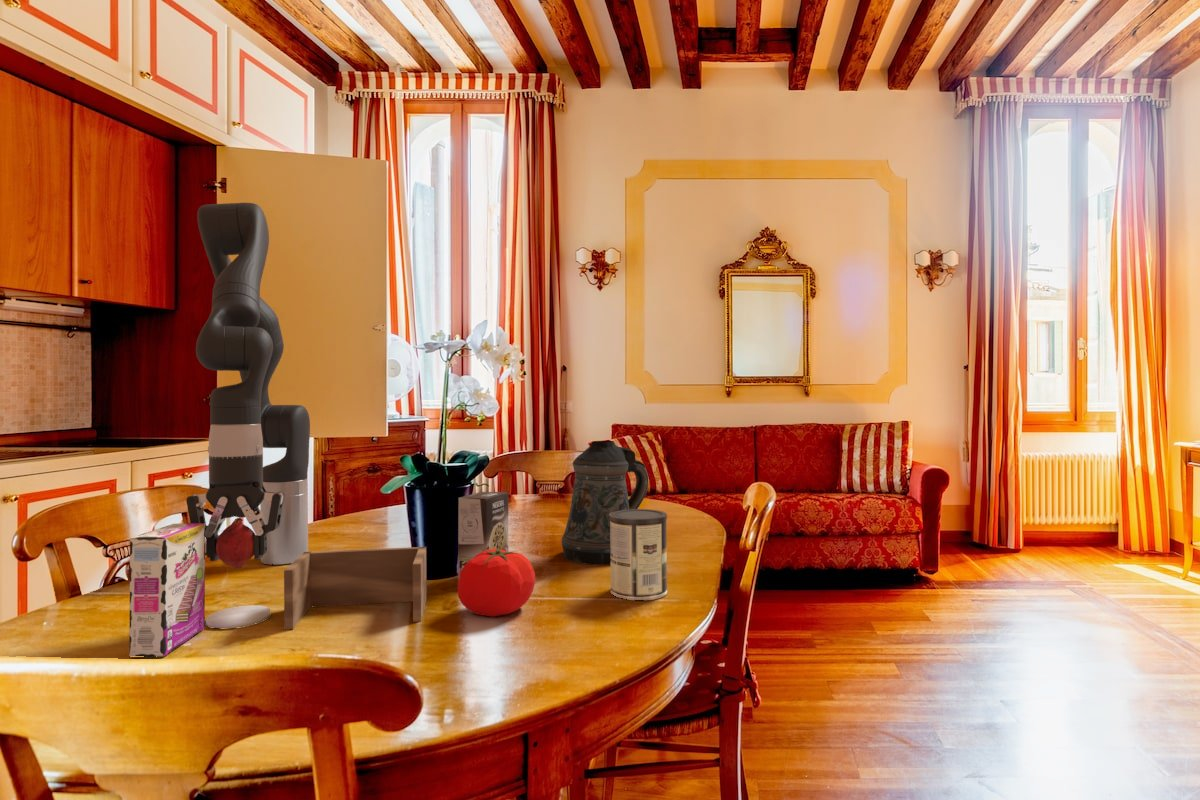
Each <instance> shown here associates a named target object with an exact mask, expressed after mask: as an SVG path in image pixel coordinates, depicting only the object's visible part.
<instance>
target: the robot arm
mask: <svg viewBox="0 0 1200 800" xmlns="http://www.w3.org/2000/svg"><path fill="white" fill-rule="evenodd" d="M197 225H198V230H199V234H200V238H201V240H202V244H203V246H204V250H205V252H206V256H207V259H208V261H209V265H210V267H211V270H212V274H213V276H214V277H213V278H214V279H215V281H214V283H213V288H212V300H211V311H210V313H209V316H208V318H207V320H206V322H205V324H204V325H203V327H202V328H201V330H200V332H199V335H198V337H197V340H196V346H195V353H196V358H197V360H198V362H199V363H200V364H201V366H203V368H206V369H207V370H210V371H215V372H217V371H221V372H222V371H223V372H225V371H228V372H229V371H230V372H232V371H233V372H239V376H240V380H241V381H240V382H238V383H235V384H234V383H233V384H230V385H223V386H218V387H216V388H214V389H213V390H212V391H211V394H210V399H209V401H210V402H209V403H210V404H209V405H210V412H209V413H210V414H209V416H210V417H209V418H210V421H209V422H210V429H209V433H208V434H209V436H208V446H207V453H208V484H209V486H208V490H207V491H206V492H205V493H202V494H201V493H195V494H192V495H189V496H187V497H186V500H185V501H186V505H187V511H188V516H189V523H205V556H206V557H207V558H208V559H209V560H210V562H217V561H218V560H220V559H219V557H218V555H217V552H216V543H217V540H218V537H219V536H220V534H219V532H220V530H221V527H222V525H223V524H224V522H225V520H226V519H230V518H233V517H236V518H241V519H242V518H246V519H245V520H246V521H247V522H248V524H250V526H251V527H252V531H253V532H254V533H255V535H256V536H254V556H253V558H254V560H260V563H261V564H265V565H272V564H273V565H288V564H289V565H290V564H292V563H293V562H294V561H295V560H296V559H297V558H298V557H299V556H300V555H301V554H303V553H304V552H309V507H308V506H309V502H308V500H309V499H308V498H309V497H308V494H309V493H308V489H309V488H308V470H309V461H310V437H311V436H310V435H311V420H310V419H311V418H310V413H309V411H308V410H307V408H306V407H305V406H303V405H298V404H272V403H271V401H270V396H269V385H270V382H271V380H272V377H273V374H274V373H275V371H276V369H277V366H279V364H280V361H281V359H282V356H283V353H284V347H285V346H284V345H285V344H284V339H283V334H282V331H281V330H282V329H281V325H280V322H279V318H278V316H277V314H276V312H275V311H274V310H273V308H272V307H271V306H270V305H269V304H268V303H267V302H266V301H265V300H264V299H263V298H262V297H261V296H260V294H261V293H260V292H261V283H262V279H263V273H264V270H265V265H266V261H267V256H268V252H269V246H270V245H269V244H270V233H269V227H268V221H267V218H266V215H265V213H264V211H263V209H262V207H261V206H259V205H258V204H257V203H255V202H254V203H253V202H234V203H233V202H227V203H212V204H211V203H209V204H204V205H203V204H202V205H201V206H200V207H199V208H198V210H197ZM230 256H236V257H235V258H234V259H233V261H232V260H231V258H230ZM264 449H286V450H285V454H284V456H283V457H282V458H281V459H279V460H277V461H276V462H273V463H271V464H270V463H269V464H266V465H264ZM207 501H208V503H209V505H211V507H213V509H214V510H213V513H212V514H211V517H210V519H209V521H208V522H209V523H208V524H207V521H206V516H205V511H204V510H205V509H204V507H205V506H206V504H207V503H206V502H207Z"/></svg>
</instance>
